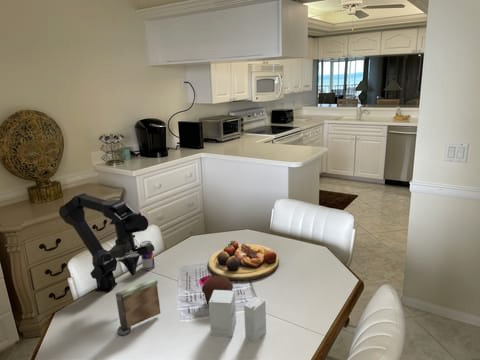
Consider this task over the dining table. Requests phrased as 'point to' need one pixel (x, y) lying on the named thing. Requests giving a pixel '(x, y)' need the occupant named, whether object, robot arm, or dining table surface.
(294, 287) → the dining table surface
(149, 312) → the gate panel
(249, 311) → the skincare box
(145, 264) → the energy drink
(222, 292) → the supplement box
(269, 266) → the wooden plate with food
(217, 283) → the muffin
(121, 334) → the gate pivot base
